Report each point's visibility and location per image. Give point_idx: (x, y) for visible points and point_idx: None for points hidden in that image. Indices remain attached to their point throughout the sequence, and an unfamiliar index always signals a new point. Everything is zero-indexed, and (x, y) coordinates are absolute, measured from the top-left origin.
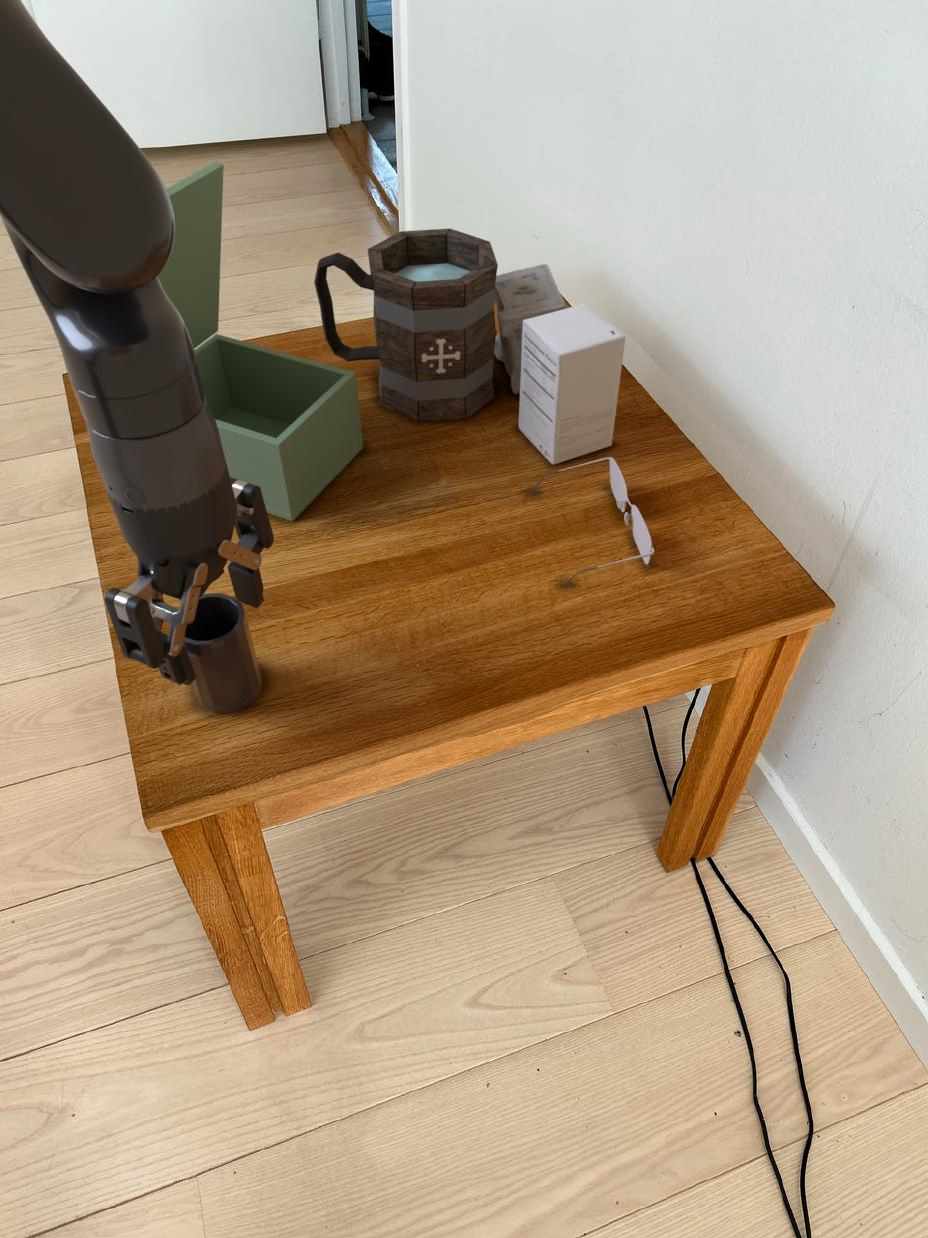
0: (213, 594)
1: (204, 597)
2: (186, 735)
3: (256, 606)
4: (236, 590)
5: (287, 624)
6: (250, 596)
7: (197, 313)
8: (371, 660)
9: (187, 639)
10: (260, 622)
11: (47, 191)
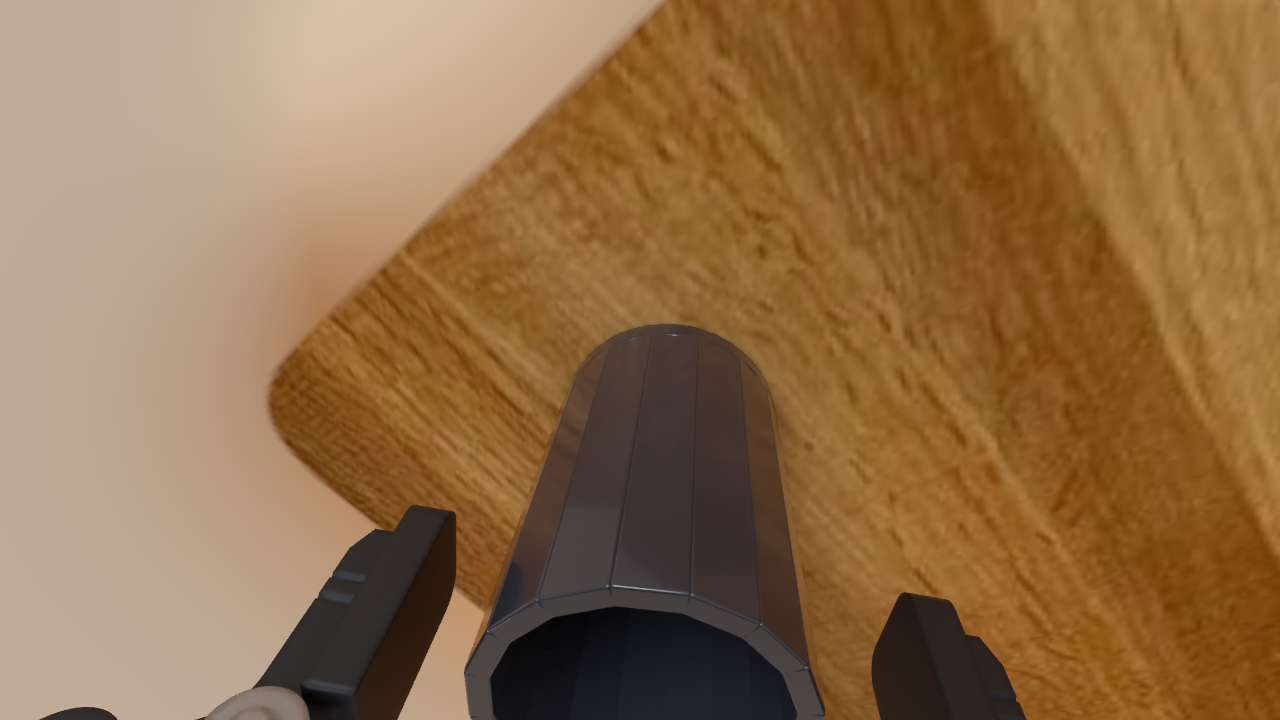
0: (807, 690)
1: (774, 663)
2: (466, 377)
3: (874, 664)
4: (922, 651)
5: (972, 474)
6: (892, 701)
7: None
8: (860, 681)
9: (482, 683)
10: (973, 397)
11: None
